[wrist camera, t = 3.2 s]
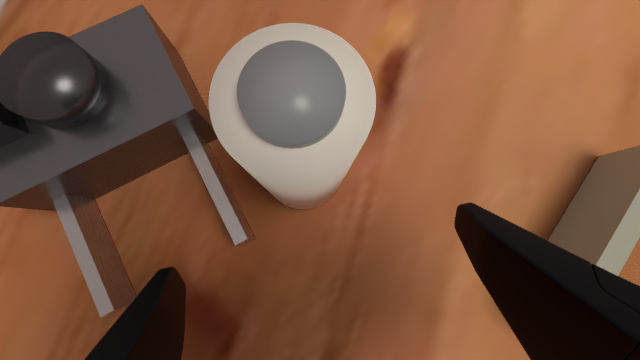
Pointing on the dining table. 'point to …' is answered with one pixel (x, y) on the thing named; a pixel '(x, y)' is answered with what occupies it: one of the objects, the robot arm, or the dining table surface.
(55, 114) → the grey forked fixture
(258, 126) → the white capped bottle
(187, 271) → the dining table surface
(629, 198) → the rectangular open frame
